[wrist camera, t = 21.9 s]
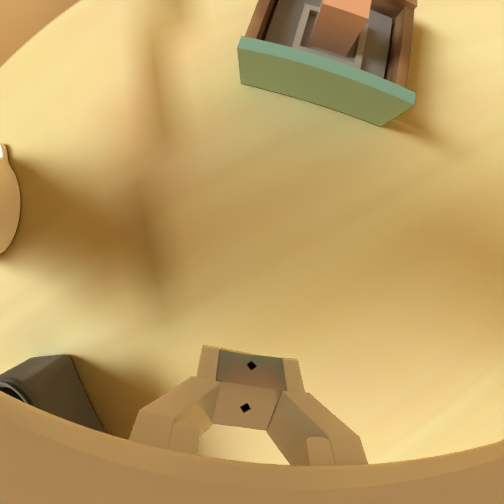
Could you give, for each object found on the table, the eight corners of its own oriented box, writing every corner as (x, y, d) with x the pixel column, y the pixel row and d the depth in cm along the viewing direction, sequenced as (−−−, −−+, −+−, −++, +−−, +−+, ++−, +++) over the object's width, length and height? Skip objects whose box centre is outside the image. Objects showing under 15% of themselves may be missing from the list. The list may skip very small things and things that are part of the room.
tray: (240, 83, 34) (237, 47, 25) (275, -13, 32) (279, -55, 23) (380, 126, 34) (414, 105, 25) (396, 26, 32) (423, -7, 23)
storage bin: (134, 457, 40) (105, 521, 26) (61, 453, 41) (25, 502, 26) (79, 335, 38) (17, 382, 24) (8, 345, 38) (-50, 380, 24)
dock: (241, 70, 34) (238, 47, 28) (274, -20, 32) (276, -47, 26) (386, 115, 34) (407, 101, 28) (400, 21, 32) (417, 0, 26)
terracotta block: (308, 45, 32) (322, 3, 23) (315, 21, 31) (329, -22, 22) (345, 56, 32) (368, 19, 23) (350, 32, 31) (372, -7, 22)
